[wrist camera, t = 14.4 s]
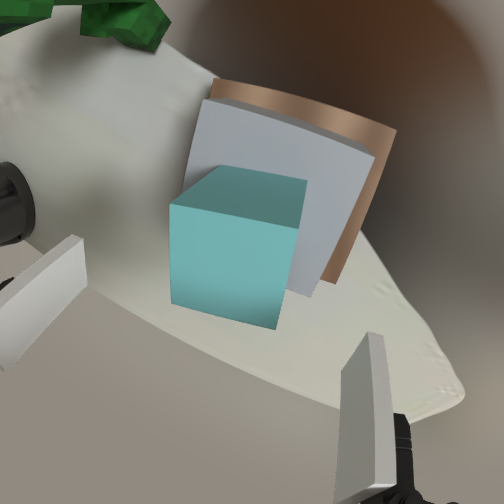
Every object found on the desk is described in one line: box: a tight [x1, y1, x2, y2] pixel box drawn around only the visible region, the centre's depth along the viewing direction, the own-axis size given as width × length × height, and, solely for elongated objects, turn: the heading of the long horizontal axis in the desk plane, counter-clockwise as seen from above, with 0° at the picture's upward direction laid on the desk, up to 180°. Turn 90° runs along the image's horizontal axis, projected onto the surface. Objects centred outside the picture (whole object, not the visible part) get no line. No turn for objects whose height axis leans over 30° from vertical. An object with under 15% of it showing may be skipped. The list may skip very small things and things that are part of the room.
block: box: [169, 165, 308, 330], centre depth 18 cm, size 6×6×8 cm
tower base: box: [209, 78, 396, 284], centre depth 29 cm, size 16×16×6 cm
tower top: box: [181, 98, 375, 297], centre depth 24 cm, size 12×12×6 cm
